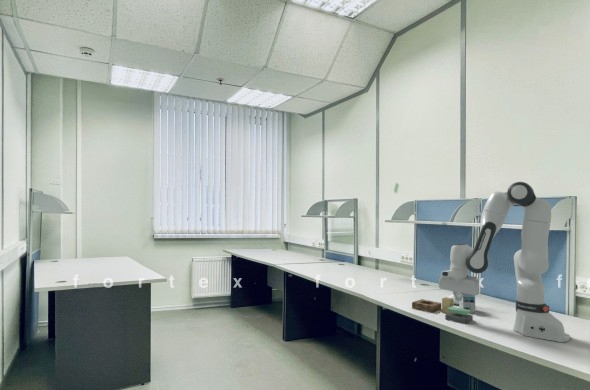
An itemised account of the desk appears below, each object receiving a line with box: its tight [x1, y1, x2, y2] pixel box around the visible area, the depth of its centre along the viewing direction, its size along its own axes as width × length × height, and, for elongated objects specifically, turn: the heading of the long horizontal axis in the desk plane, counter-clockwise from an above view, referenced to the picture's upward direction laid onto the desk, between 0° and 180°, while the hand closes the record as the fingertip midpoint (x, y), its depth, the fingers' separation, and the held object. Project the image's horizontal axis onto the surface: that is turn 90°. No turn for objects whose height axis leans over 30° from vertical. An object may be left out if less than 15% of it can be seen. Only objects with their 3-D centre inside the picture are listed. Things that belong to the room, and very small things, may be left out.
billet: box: [441, 296, 455, 315], centre depth 209 cm, size 4×4×8 cm
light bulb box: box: [458, 292, 476, 314], centre depth 215 cm, size 11×7×11 cm, turn 168°
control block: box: [445, 312, 474, 325], centre depth 196 cm, size 10×10×2 cm
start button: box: [447, 306, 472, 316], centre depth 196 cm, size 10×6×3 cm, turn 44°
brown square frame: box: [411, 298, 442, 313], centre depth 217 cm, size 12×12×4 cm
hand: (458, 300), depth 196 cm, fingers closed
